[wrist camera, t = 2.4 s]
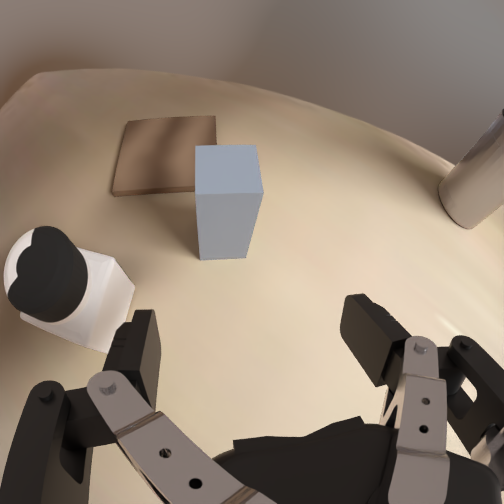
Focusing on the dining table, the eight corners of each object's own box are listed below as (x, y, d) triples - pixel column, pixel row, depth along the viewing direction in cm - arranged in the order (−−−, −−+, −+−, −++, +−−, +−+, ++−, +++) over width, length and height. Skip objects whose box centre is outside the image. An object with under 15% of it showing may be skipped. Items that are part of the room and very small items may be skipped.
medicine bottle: (136, 285, 27) (93, 223, 16) (117, 356, 24) (53, 336, 13) (77, 268, 26) (18, 206, 16) (56, 333, 23) (-20, 299, 12)
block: (241, 218, 31) (255, 145, 21) (245, 258, 29) (263, 192, 19) (198, 220, 30) (195, 145, 20) (200, 260, 29) (195, 194, 19)
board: (215, 121, 37) (215, 115, 36) (218, 190, 32) (218, 185, 31) (129, 126, 35) (127, 121, 34) (114, 196, 30) (112, 191, 29)
